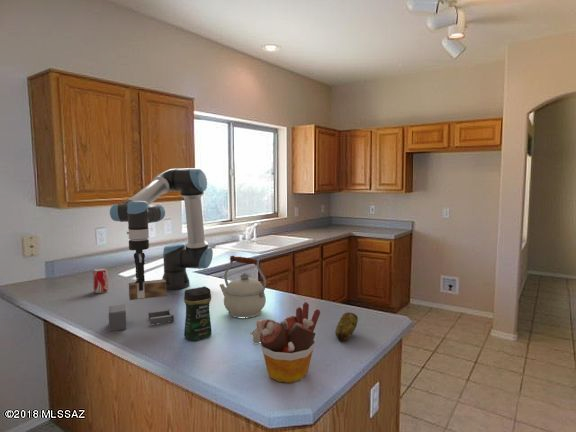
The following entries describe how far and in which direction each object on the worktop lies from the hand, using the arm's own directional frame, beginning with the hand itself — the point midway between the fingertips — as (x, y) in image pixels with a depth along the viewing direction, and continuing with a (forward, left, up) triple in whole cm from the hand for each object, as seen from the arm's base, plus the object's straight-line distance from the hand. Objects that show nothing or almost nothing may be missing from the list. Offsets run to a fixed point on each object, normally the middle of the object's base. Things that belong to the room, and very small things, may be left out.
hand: (140, 296), depth 153 cm
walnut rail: (-3, 0, -1) cm, 3 cm away
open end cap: (-8, 0, -11) cm, 14 cm away
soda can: (+16, -55, -11) cm, 59 cm away
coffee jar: (-18, +24, -11) cm, 32 cm away
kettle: (-41, +6, -11) cm, 43 cm away
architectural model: (-38, +37, -12) cm, 54 cm away
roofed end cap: (+9, 0, -11) cm, 14 cm away
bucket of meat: (-37, +62, -11) cm, 74 cm away
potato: (-68, +47, -11) cm, 83 cm away
